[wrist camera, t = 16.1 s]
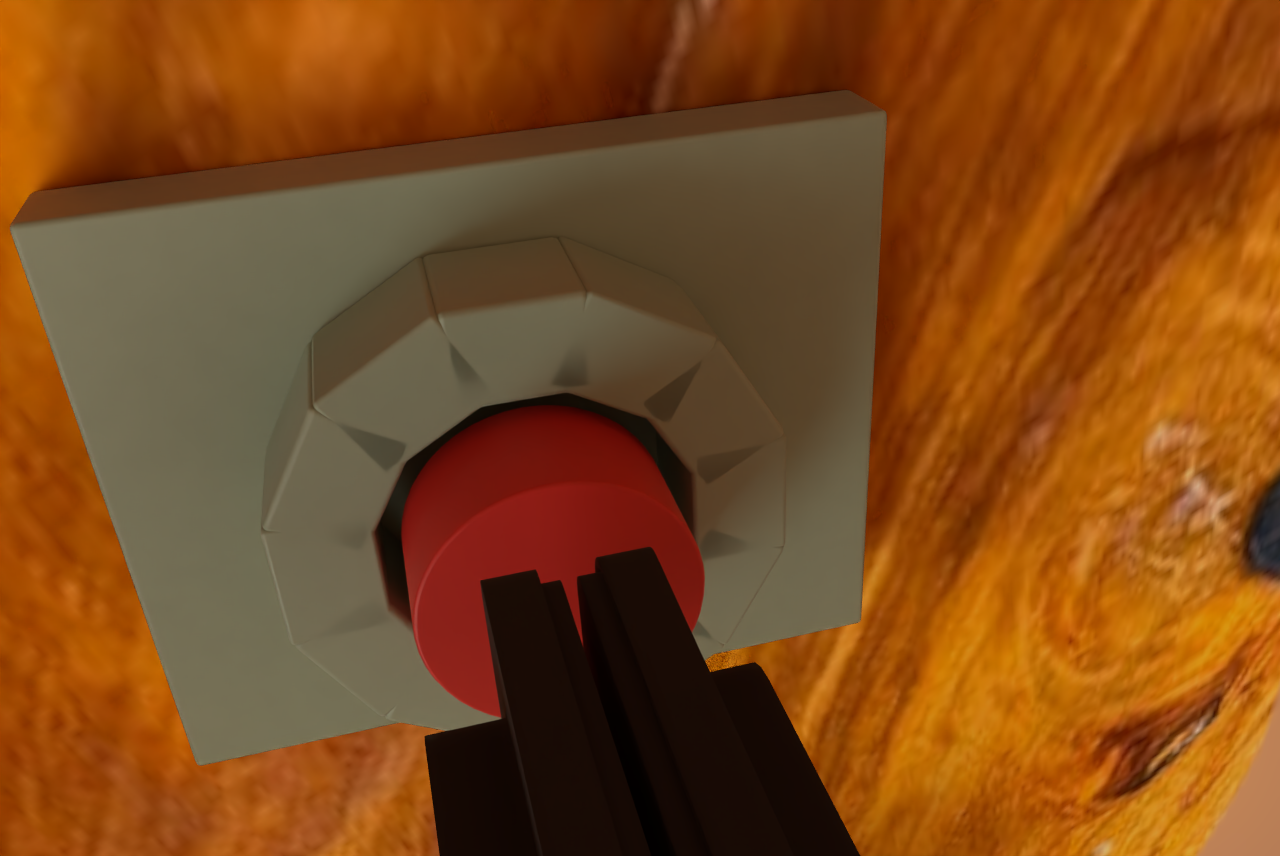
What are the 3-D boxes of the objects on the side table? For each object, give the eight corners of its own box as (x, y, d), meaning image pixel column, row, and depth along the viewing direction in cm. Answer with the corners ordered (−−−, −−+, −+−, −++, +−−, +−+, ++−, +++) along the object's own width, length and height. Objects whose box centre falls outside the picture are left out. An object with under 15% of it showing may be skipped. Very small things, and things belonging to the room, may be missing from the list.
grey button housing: (849, 88, 15) (961, 150, 12) (832, 578, 19) (914, 701, 16) (29, 190, 13) (-37, 289, 11) (202, 710, 17) (186, 872, 15)
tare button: (657, 382, 13) (702, 458, 12) (670, 599, 15) (710, 690, 14) (379, 429, 13) (388, 514, 11) (423, 650, 14) (436, 750, 13)
